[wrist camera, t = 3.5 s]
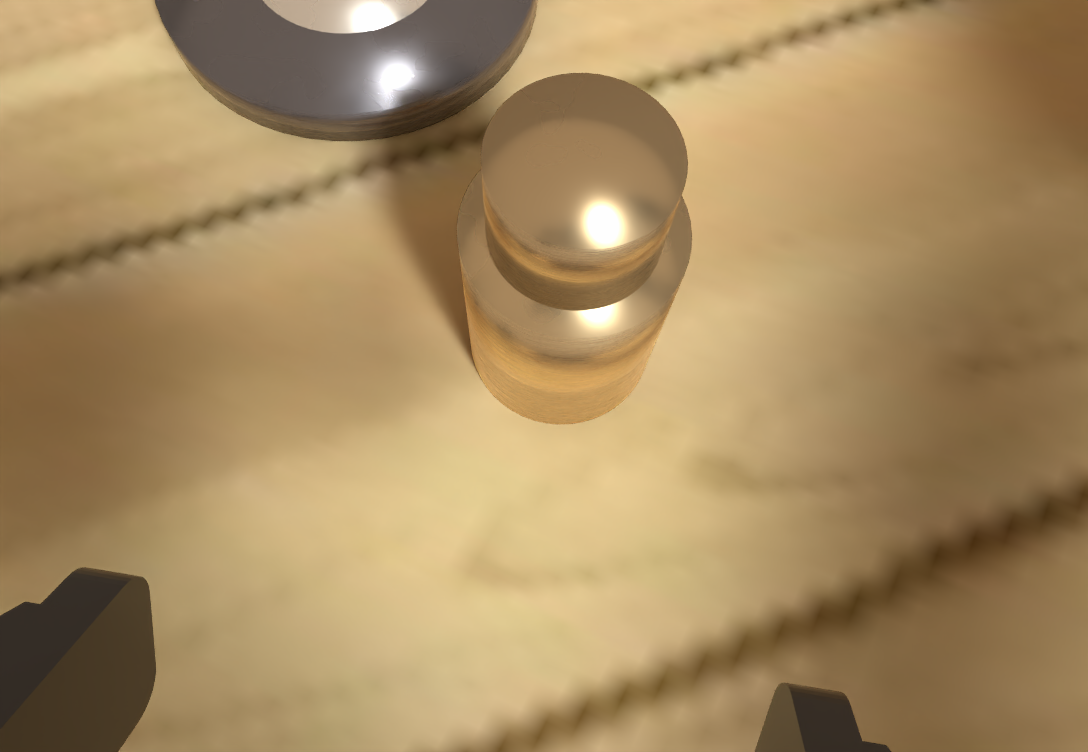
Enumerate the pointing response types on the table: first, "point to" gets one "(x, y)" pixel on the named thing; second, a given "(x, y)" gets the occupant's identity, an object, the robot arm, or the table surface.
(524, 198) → the weight
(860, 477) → the table surface
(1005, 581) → the table surface
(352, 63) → the turntable
